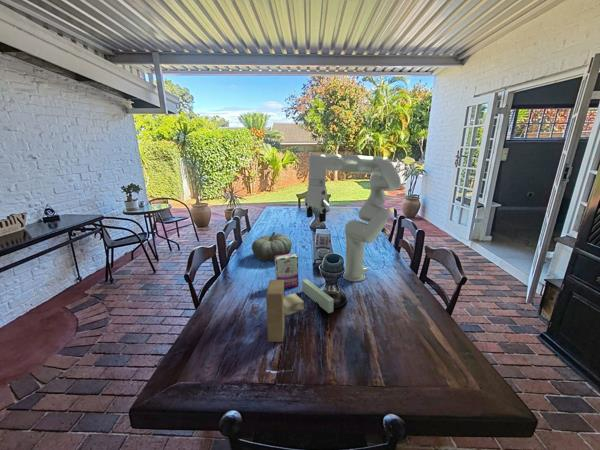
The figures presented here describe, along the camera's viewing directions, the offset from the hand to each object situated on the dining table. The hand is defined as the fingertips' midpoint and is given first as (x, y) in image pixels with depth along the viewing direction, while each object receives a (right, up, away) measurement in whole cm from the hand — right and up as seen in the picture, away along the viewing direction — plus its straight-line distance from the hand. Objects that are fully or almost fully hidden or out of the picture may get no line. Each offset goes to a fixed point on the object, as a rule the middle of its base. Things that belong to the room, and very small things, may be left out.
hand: (315, 219), depth 130 cm
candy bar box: (-14, -34, +14) cm, 39 cm away
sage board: (0, -38, 0) cm, 38 cm away
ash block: (-12, -40, -6) cm, 42 cm away
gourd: (-25, -24, +49) cm, 60 cm away
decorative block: (-16, -44, -22) cm, 52 cm away
